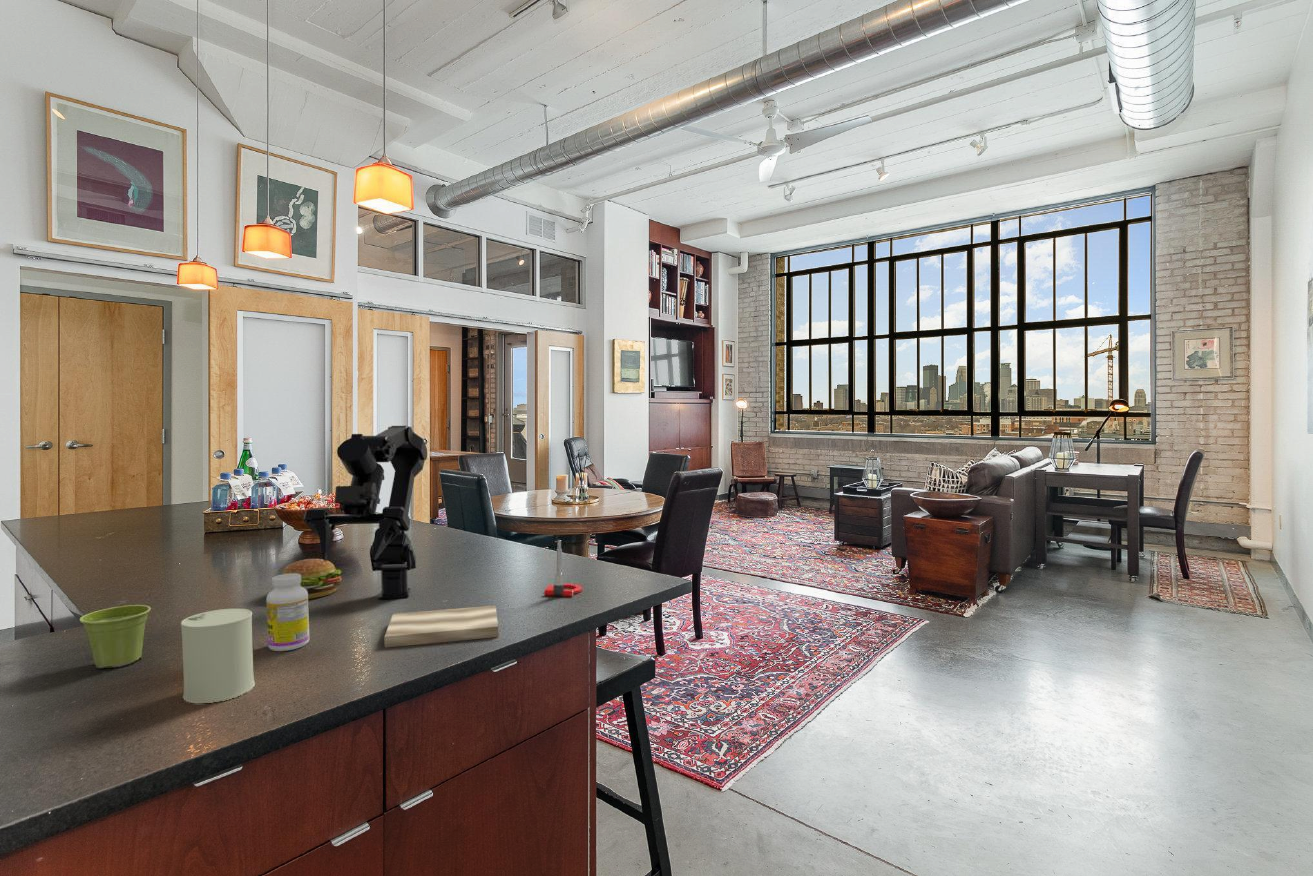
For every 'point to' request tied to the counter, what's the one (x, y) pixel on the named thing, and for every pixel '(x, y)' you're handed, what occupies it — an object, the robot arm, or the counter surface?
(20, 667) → the counter surface
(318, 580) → the food
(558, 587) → the tow hook
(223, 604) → the counter surface
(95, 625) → the plant pot
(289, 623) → the supplement bottle
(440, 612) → the birch board
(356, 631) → the counter surface
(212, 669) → the can
